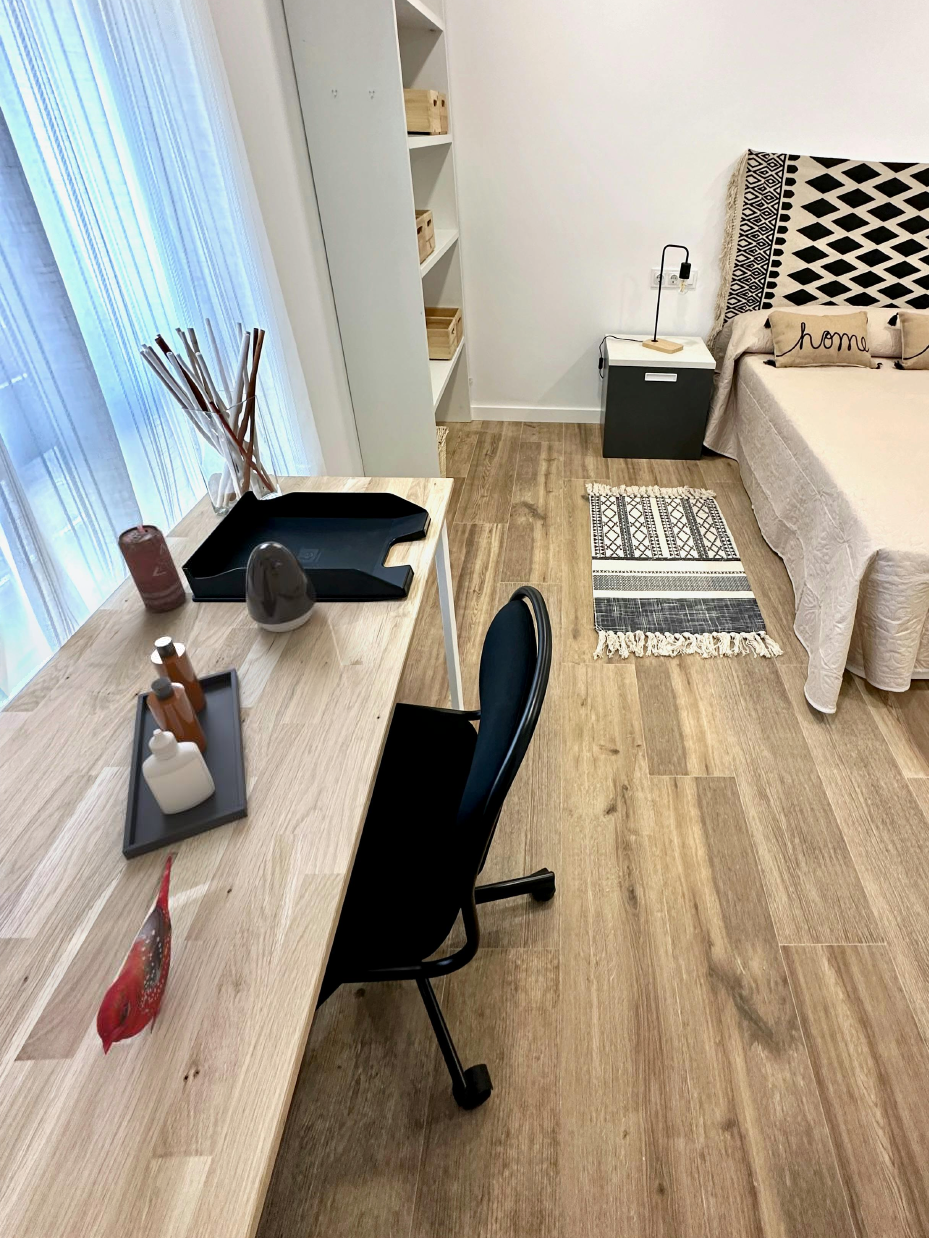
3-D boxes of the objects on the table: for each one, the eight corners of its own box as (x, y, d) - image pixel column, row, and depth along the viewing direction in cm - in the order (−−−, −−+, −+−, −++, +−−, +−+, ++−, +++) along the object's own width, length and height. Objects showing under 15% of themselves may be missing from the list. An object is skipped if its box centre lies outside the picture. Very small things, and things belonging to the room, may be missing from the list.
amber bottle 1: (174, 700, 89) (146, 636, 83) (206, 691, 91) (180, 627, 84) (174, 720, 86) (144, 656, 80) (206, 711, 88) (180, 646, 81)
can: (181, 585, 112) (155, 518, 104) (190, 604, 108) (163, 535, 100) (142, 599, 109) (112, 530, 101) (149, 618, 104) (119, 548, 97)
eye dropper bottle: (207, 812, 75) (175, 745, 69) (156, 816, 74) (120, 749, 68) (220, 780, 79) (191, 714, 72) (172, 784, 78) (138, 717, 72)
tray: (143, 705, 89) (138, 694, 88) (238, 677, 94) (234, 667, 93) (128, 863, 70) (121, 852, 69) (249, 819, 75) (244, 808, 74)
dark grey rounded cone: (265, 651, 99) (240, 573, 91) (246, 617, 105) (221, 541, 97) (330, 625, 104) (312, 548, 96) (307, 593, 111) (289, 520, 103)
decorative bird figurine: (120, 1097, 54) (73, 1049, 48) (173, 890, 68) (141, 836, 63) (158, 1086, 54) (116, 1037, 49) (202, 883, 69) (173, 829, 63)
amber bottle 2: (173, 742, 83) (142, 677, 77) (207, 732, 85) (179, 667, 78) (172, 766, 80) (139, 700, 74) (207, 754, 82) (178, 688, 75)
